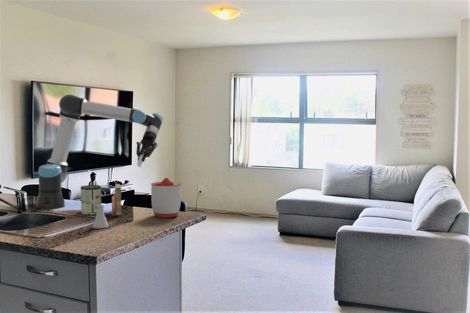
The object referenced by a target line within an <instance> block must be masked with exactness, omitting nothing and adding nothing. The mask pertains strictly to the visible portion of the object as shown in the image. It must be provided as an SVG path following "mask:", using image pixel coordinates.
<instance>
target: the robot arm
mask: <svg viewBox="0 0 470 313" xmlns="http://www.w3.org/2000/svg"><path fill="white" fill-rule="evenodd" d="M58 106H59V108H60V109H59V110H60V111H59V114H58V115H59V117H60V122H59V126H58V130H57V133H56V137H55V141H54V146H53V149H52V152H51V157H50V158H49V159H48V160H47V162H46V164H42V165H40V166H39V167H38V171H37V172H38V195H37V199H36V203H35V208H37V209H42V210H47V209H48V210H51V209H52V210H53V209H61V208H63V207H66V204H65V199H64V196H63V194H62V183H63V182H64V181H65V180H66V178H67V174H68V173H67V171H68V166H69V164H68V162H67V160H68V156H69V152H70V148H71V143H72V139H73V136H74V132H75V128H76V124H77V122H79V121H80V119H81V116H83V115H88V116H94V117H100V118H105V119H112V120H117V121H122V122H123V121H124V122H130V123H136V124H140V125H142V126H145V127H146V128H145V131H144V133H143V136H142V139H141V140H140V141H137V142H136V143H135V144H136V153H135V154H136V157H137V162H136V165H137V166H138V168H141V167H142V166H143V162H145V160H146V158H150V156H151V155H153V152H154V151H155V149H156V148H158V143H157V142H156V140H157V137H158V135H159V132H160V129H161V127H162V125H163V124H162V123H163V120H164V118H163V116H162V115H161V114H160V113H158V112H157V113H156V112H154V113H152V114H150V113H147V112H145V111H144V110H142V109H138V108H135V107H134V108H130V107H129V108H128V107H125V106H118V105H112V104H109V103H108V104H107V103H101V102H95V101H91V100H87V99H86V98H83V97H79V96H77V95H74V94H65V95H63V96H62V97H61V98H60V100H59V102H58Z"/></svg>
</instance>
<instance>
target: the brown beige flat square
mask: <svg viewBox="0 0 470 313" xmlns="http://www.w3.org/2000/svg"><path fill="white" fill-rule="evenodd" d="M114 187H115V188H114V196H116V216H121V215H122V186H121V184H120V183H115V186H114Z"/></svg>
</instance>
